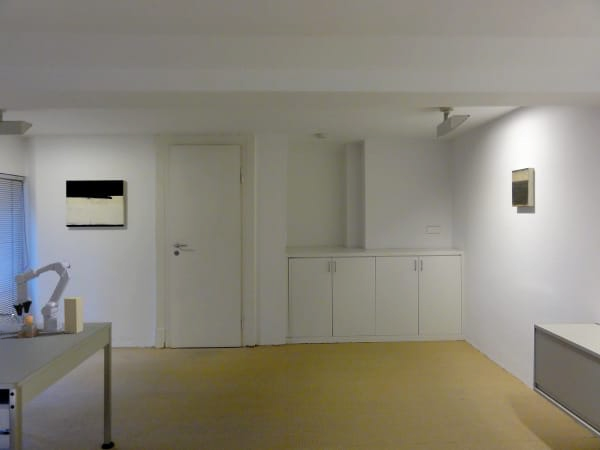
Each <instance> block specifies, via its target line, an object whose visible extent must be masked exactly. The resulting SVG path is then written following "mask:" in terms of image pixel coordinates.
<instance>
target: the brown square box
mask: <svg viewBox="0 0 600 450" xmlns="http://www.w3.org/2000/svg"><path fill="white" fill-rule="evenodd" d="M38 335H40V328H37V329H36V330H34V331H32V332H21V331H19V332H17V338H18V339H25V338H26V339H27V338H31V339H32V338H34V337H36V336H38Z"/></svg>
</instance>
